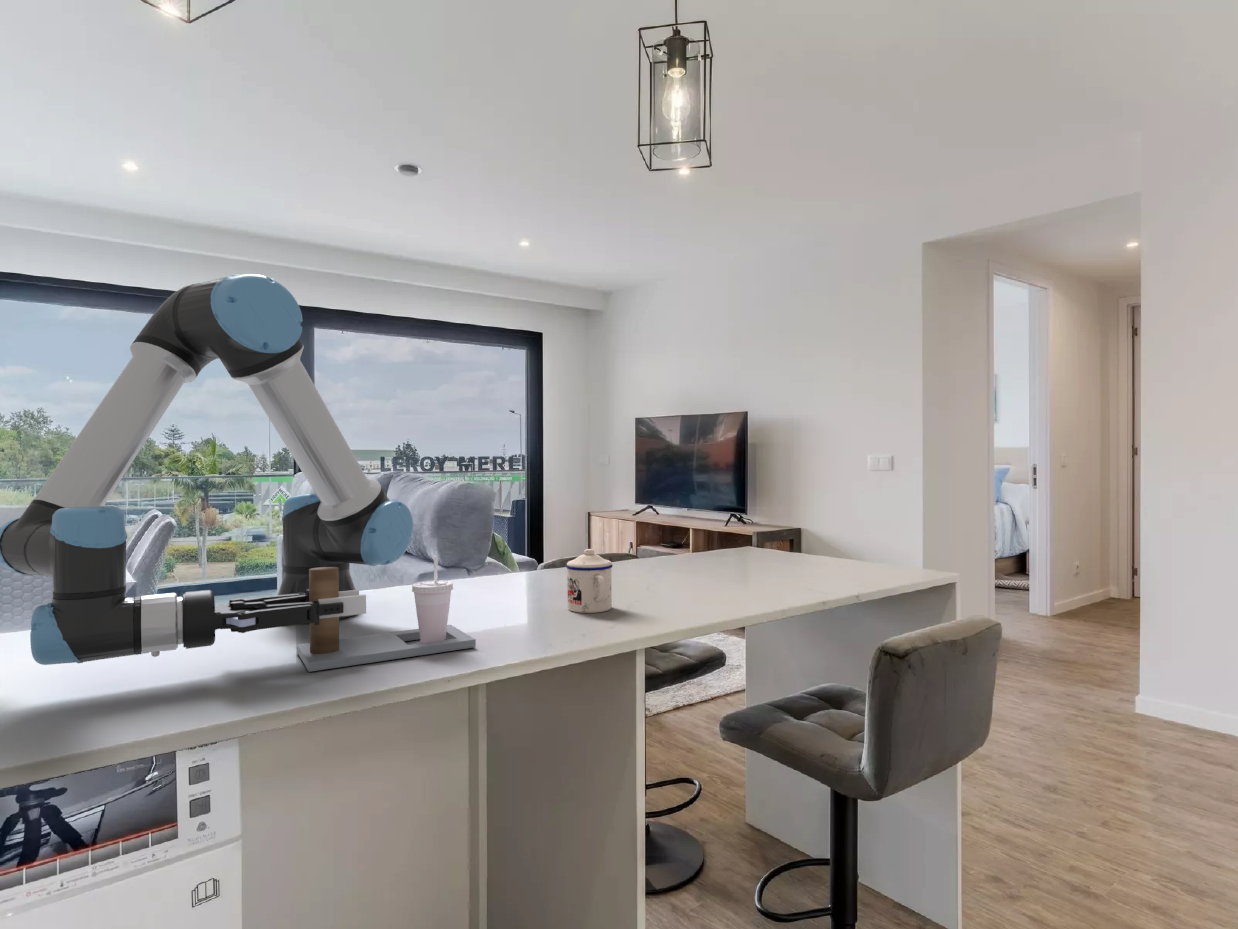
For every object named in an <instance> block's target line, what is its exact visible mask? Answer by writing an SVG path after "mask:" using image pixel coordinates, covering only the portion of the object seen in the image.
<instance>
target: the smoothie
mask: <svg viewBox="0 0 1238 929" xmlns="http://www.w3.org/2000/svg"><path fill="white" fill-rule="evenodd" d="M453 586H454V585H453V582H452V581H449V580H438V555H435V556H433V580H423V581H418V582H414V583H413V584H412V585H411V592H413V594H414V603H415V610H416V617H417V625H418V629H419V633H420V639H419V641H420V643H427V642H435V641H442V640H447V639H446V631H447V625H448V623H449V622H448V621H449V613H450V603H451V595H452V590H454V587H453Z"/></svg>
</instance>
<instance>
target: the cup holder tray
mask: <svg viewBox="0 0 1238 929" xmlns="http://www.w3.org/2000/svg"><path fill="white" fill-rule="evenodd" d="M335 597H339V571H338V567H318V568H312V569H309V602H313V601H318V599H325V598H335ZM417 640H420V633H419V628H414V629H407V630H405V629H404V630H398V631H392V632H383V633H376V634H374V633H373V634H366V635H359V636H351V637H343V638H340V619H339V617H331V618H323V619H319V625H315V623H309V642H306V643H297V644H296V653H297V655H298V656H299V658H300V659H301V661H302V662H303V664H304V666H305V668H306V669H307V671H308V672H316V671H324V670H329V669H337V668H342V667H343V668H345V667H350V666H358V665H362V664H363V665H364V664H371V663H377V662H383V661H390V660H391V661H393V660H396V659H397V660H398V659H403V658H410V657H411V658H412V657H416V656H417V657H419V656H423V655H432V654H437V653H439V654H440V653H444V652H451V651H457V650H459V651H460V650H465V649H471V648H476V645H477V644H476V638H475V637H472V636H471V635H469V634H468V633H466V632H464V631H462V630H461V629H459V628H457V627H456V626H454V625H452V624H447V631H446V640H442V641H435V642H427V643H421V642H420V643H416V644H415V643H414V644H407V643H406V642H407V641H410V642H411V641H417Z"/></svg>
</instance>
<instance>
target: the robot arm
mask: <svg viewBox="0 0 1238 929" xmlns="http://www.w3.org/2000/svg"><path fill="white" fill-rule="evenodd" d="M299 305H300V304H299V303H298V301H297V300H296V299H295V297H294V295H293V294H292V293H291V291H290V290H288V288H287V287H285V286H284V285H283V284H281V283H280V282H279V281H277V280H276V279H274V278H270V277H268V276H265V275H262V274H255V273H252V274H251V273H248V274H231V275H229V276H225V277H221V278H215V279H213V280H208V281H204V282H197V283H191V284H189V285H186V286H183V287H181V288H179V289H178V290H176V291H175V292H173V293H172V294H171V295H170V296H168V298H166V299H165V300H164V301H163V302H162V303H161V305H160V306H158V308H157V309H156V310H155V311H154V313H153V314H152V316H150V317H149V320H148V321H147V322H146V324H145V325H144V326H143V328H142V329H141V331H140V332H139V333H138V335H137V336H136V337H135V339H134V341H133V342H132V343H131V344H130V347H129V350H130V354H131V355H132V357H131V358H130V360H129V361H128V363H127V365H126V366H125V367H124V369H123V370H122V371H121V373H120V375H119V376H118V377H117V379H115V382H114V383H113V385H112V386H111V387H110V389H109V390H108V392H107V393H106V395H105V396H104V398H103V399H102V400H101V401H100V403H99V405H98V406H97V408H96V409H95V410H94V412H93V413H92V415H91V416H90V417H89V419H88V420H87V422H86V423H85V425H84V426H83V427H82V429H81V431H80V432H79V433H78V435H77V436H76V438H75V439H74V441H72V444H71V445H70V446H69V448H68V449H67V451H66V452H65V454H64V455H63V457H62V458H61V459H60V460H59V462H58V463H57V465H56V466H55V468H54V470H52V472H51V473H50V475H49V477H48V478H47V479H46V481H45V482H44V484H43V485H42V487H41V488H40V489H39V491H38V492H37V494H36V496H35V497H34V498H33V500H32V501H31V502H30V504H28V507H26V509H25V510H24V512H23V513H22V515H21V516H20V517H19V518H15V519H12V520H10V521H8V522H6V523H4V524H3V525H1V526H0V566H1V567H3V568H4V569H6V570H8V571H13V572H15V573H17V574H19V575H20V574H21V575H23V576H24V575H25V576H41V577H42V576H43V577H49V578H52V598H51V600H52V601H51V602H48V603H47V604H42V605H38V606H36V607H35V608H34V610H33V611H32V616H31V618H30V620H31V621H30V633H29V634H30V635H29V636H30V651H31V656H32V658H33V660H34V661H35V662H36V663H38V664H39V665H44V666H47V665H50V666H51V665H60V664H61V665H63V664H73V663H77V664H83V663H86V662H94V661H99V660H100V661H101V660H105V659H113V658H115V659H116V658H121V657H129V656H137V655H143V654H149V653H150V654H151V657H153V658H157V657H159V656H160V654H161V652H169V651H175V650H177V649H178V648H179V645H182V644H183V648H185V649H186V650H187V649H188V650H189V649H195V648H203V647H205V648H206V647H211V646H213V645H214V644H215V641H216V631H217V630H230V632H232V633H236V632H237V633H239V634H240V633H241V634H245V633H248V632H253V631H257V630H265V629H266V630H267V629H274V628H282V627H283V628H284V627H289V626H297V625H304V624H305V625H307V624H310V623H315V625H319V619H323V618H331V617H339V620H340V619H346V618H350V617H352V616H357V615H364V614H367V595H366V594H365V593H364V594H360V590H359V589H356V586H355V584H354V581H353V578H352V576H351V570H350V569H351V568H350V564H356V565H365V566H366V565H367V566H370V567H374V566H378V565H379V566H386V565H390V564H393V563H395V562H396V561H398V560H399V559H401V557H402V556H403V555H404V554H405V553H406V551H407V549H408V548H409V546H410V544H411V541H412V535H413V532H414V520H413V515H412V512H411V510H410V509H409V507H408V506H407V505H406V504H405V503H404V502H402V501H399V500H398V499H389V497H388V495H387V493H386V492H385V490H384V488H383V486H382V485H381V483H380V482H379V480H377V479H374V478H368V477H367V476H366V475H365V473H364V471H363V469H362V467H361V465H360V464H359V462H358V460H357V458H356V456H355V455H354V452H352V449H351V447H350V446H349V444H348V442H347V440H346V439H345V437H344V436H343V434H342V432H341V430H340V428H339V425H337V423H336V421H335V419H334V417H333V415H332V414H331V411H330V410H329V408H328V406H327V404H325V401H324V400H323V397H322V396H321V394H320V392H319V390H318V389H317V387H316V385H315V384H314V382H313V380H312V379H311V377H310V375H309V373H308V371H307V370H306V367H305V366H304V364H303V362H302V361H301V356H302V353H303V350H304V349H305V347H304V346H305V345H304V344H303V342H302V340H301V334H302V332H303V326H302V325H301V324H302V322H303V321H304V320H303V313H302V310H301V307H300V306H299ZM218 359H219V360H220V362H221V363H222V365H223V366H224V368H225V370H226V371H227V373H228V374H229V376H230V377H231V378H232V379H233V380H236V381H238V382H242V383H243V382H244V383H246V384H247V385H248V386H249V388H250V390H251V391H252V392H253V395H254V396H255V398H256V399H257V402H259V404H260V406H261V407H262V409H263V411H264V413H265V414H266V415H267V417H268V419H269V420H270V423H272V425H273V427H274V428H275V429H274V430H276V432H277V434H278V435H279V437H280V438H281V441H282V442H283V444H284V445H285V446H286V449H287V450H288V451H289V453H290V455H291V456H292V459H293V460H294V461H295V463H296V464H297V466H298V468H299V469H300V471H301V472H302V474H303V476H304V477H305V479H306V481H307V482H308V484H309V486H310V487H311V489H312V491H313V492H314V493H308V494H300V495H294V496H290V497H288V498H287V499H285V501H284V502H283V509H282V516H281V522H282V551H283V552H282V554H283V556H282V558H283V576H282V581H281V583H280V587H279V590H278V592H277V595H265V596H256V597H240V598H239V597H233V598H230V599H229V602H227V603H221V604H217V605H216V603H215V602H216V601H215V592H214V591H213V590H211V589H205V590H193V591H185V592H184V593H183V594H182V596H178V593H177V592H167V593H157V594H156V593H155V594H147V595H145V594H144V595H141V596H139V595H138V596H127V584H126V582H127V580H126V579H127V577H126V576H127V575H126V574H127V539H128V533H127V530H126V524H125V513H124V511H123V510H122V509H121V508H120V507H118V506H111V505H106V503H107V502H108V500H109V498H110V497H112V496H111V495H112V494H113V493H114V491H115V490H116V488H117V486H118V485H119V483H120V482H121V480H122V479H123V477H124V476H125V474H126V473H127V471H128V469H129V468H130V467H131V465H132V464H133V462H134V460H135V458H136V457H137V456H138V454H139V453H140V451H141V449H142V448H143V446H145V444H146V442H147V440H148V438H149V437H150V436H151V435H152V432H153V431H154V430H155V429H156V426H157V425H158V423H159V421H160V420H161V419H162V417H163V416H164V414H165V412H167V410H168V408H169V406H170V405H171V403H172V402H173V400H174V398H175V397H176V395H178V393H179V391H180V389H181V388H182V387H183V384H188V383H192V382H194V381H195V380H196V378H198V375H199V374H200V373H201V371H202V370H203V369H205V367H206V366H208V365H209V364H210V363H211V362H212V361H215V360H218ZM318 567H338V571H339V597H335V598H325V599H318V601H313V602H309V569H312V568H318Z"/></svg>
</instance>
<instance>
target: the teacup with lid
mask: <svg viewBox="0 0 1238 929" xmlns="http://www.w3.org/2000/svg"><path fill="white" fill-rule="evenodd" d="M583 553H584V554H581V555H579V556H577V557H576V558H574V559H572V560H568V561H567V563H566V565H565V567H566V569H567V571H566V572H567V584H566V585H567V609H568V611H570V612H574V613H581V614H595V613H596V614H597V613H602V612H607V611H610V610H611V609H612V605H613V604H612V601H613V600H612V592H613V591H612V568H613V563H612V561H611V560H608V559H606V558H603V557H602V556H600V555H598V554H596V553H595V549H593V548H586V549H584V551H583Z"/></svg>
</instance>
